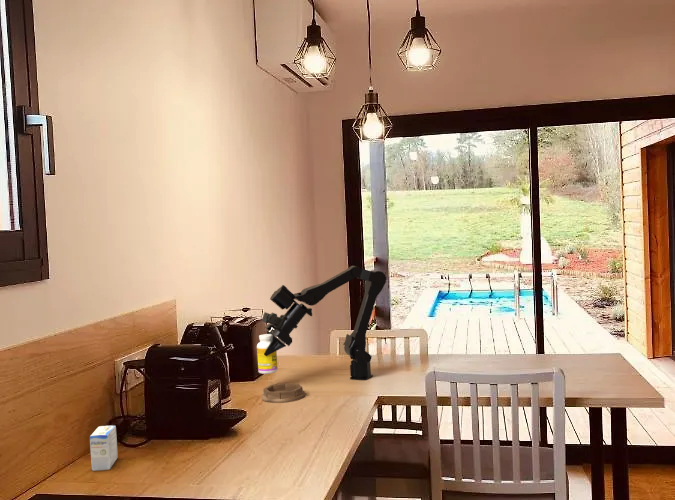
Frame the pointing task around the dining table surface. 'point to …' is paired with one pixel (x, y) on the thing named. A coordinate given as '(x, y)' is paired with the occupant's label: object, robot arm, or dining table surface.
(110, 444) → the medicine box
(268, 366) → the supplement bottle
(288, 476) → the dining table surface
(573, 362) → the dining table surface
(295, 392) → the cup stand
